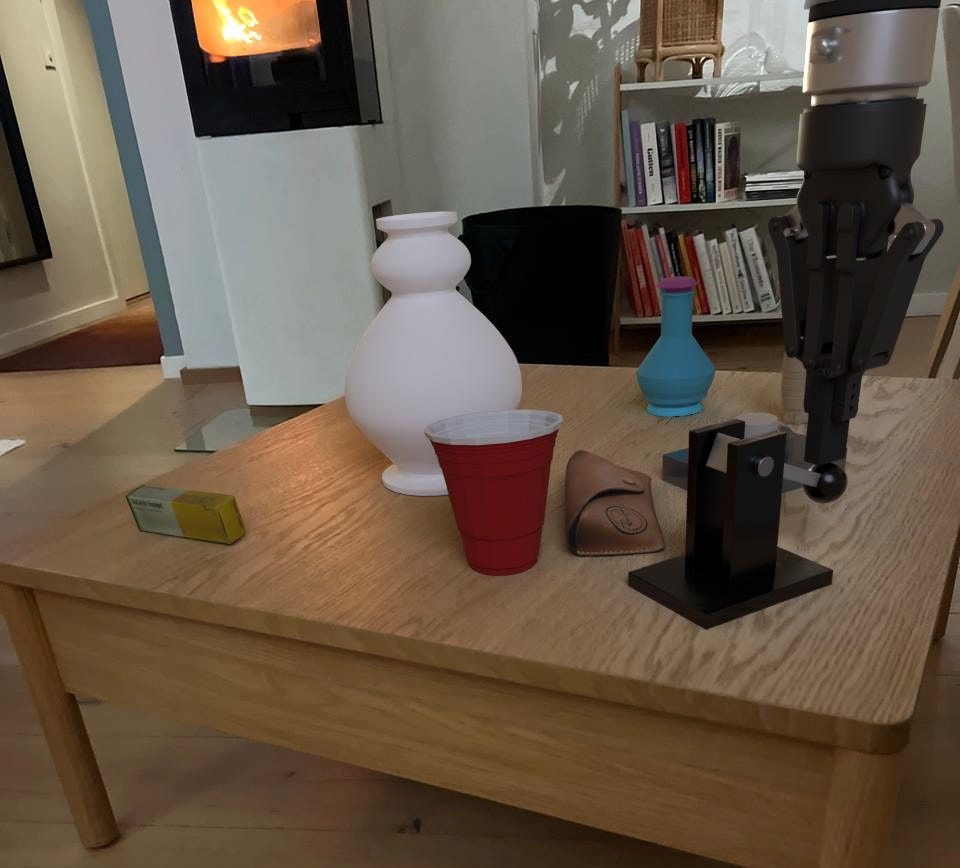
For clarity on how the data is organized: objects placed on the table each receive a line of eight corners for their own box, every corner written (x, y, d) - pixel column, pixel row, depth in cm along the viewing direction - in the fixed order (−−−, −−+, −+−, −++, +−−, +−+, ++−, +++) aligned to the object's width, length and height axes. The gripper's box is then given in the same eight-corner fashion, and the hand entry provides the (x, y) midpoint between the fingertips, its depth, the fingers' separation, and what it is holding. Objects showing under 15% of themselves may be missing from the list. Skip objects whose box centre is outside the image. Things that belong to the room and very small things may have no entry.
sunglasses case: (672, 547, 76) (630, 482, 74) (598, 590, 78) (555, 528, 76) (651, 475, 92) (616, 419, 89) (590, 513, 94) (554, 459, 92)
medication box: (136, 532, 90) (122, 494, 88) (156, 520, 92) (143, 482, 90) (229, 545, 85) (216, 505, 83) (249, 532, 87) (236, 492, 85)
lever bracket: (747, 547, 76) (756, 403, 71) (832, 584, 69) (850, 427, 64) (627, 585, 72) (627, 435, 66) (706, 630, 65) (713, 465, 59)
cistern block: (769, 451, 97) (772, 408, 95) (844, 475, 89) (850, 428, 87) (661, 480, 92) (662, 436, 90) (732, 509, 84) (734, 460, 82)
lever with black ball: (814, 500, 74) (829, 461, 73) (846, 511, 71) (862, 471, 70) (698, 469, 67) (714, 425, 66) (729, 480, 64) (746, 435, 63)
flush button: (755, 427, 91) (757, 410, 90) (786, 436, 88) (787, 418, 87) (724, 436, 89) (725, 418, 89) (753, 445, 86) (754, 426, 85)
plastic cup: (553, 529, 83) (547, 393, 77) (582, 578, 73) (578, 428, 68) (432, 544, 82) (417, 408, 76) (445, 596, 72) (429, 445, 67)
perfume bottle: (649, 397, 119) (650, 273, 112) (721, 401, 115) (727, 271, 108) (626, 417, 112) (626, 285, 105) (702, 421, 108) (707, 284, 101)
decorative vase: (486, 440, 108) (469, 203, 97) (555, 482, 94) (545, 209, 82) (338, 469, 103) (300, 222, 91) (387, 518, 88) (349, 231, 76)
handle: (765, 416, 108) (775, 279, 101) (823, 415, 107) (838, 276, 100) (768, 428, 104) (778, 286, 97) (828, 427, 103) (844, 283, 96)
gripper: (745, 107, 63) (726, 450, 74) (908, 93, 53) (857, 493, 64) (827, 101, 66) (796, 431, 77) (996, 87, 55) (933, 470, 67)
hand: (824, 459), depth 70 cm, fingers closed
